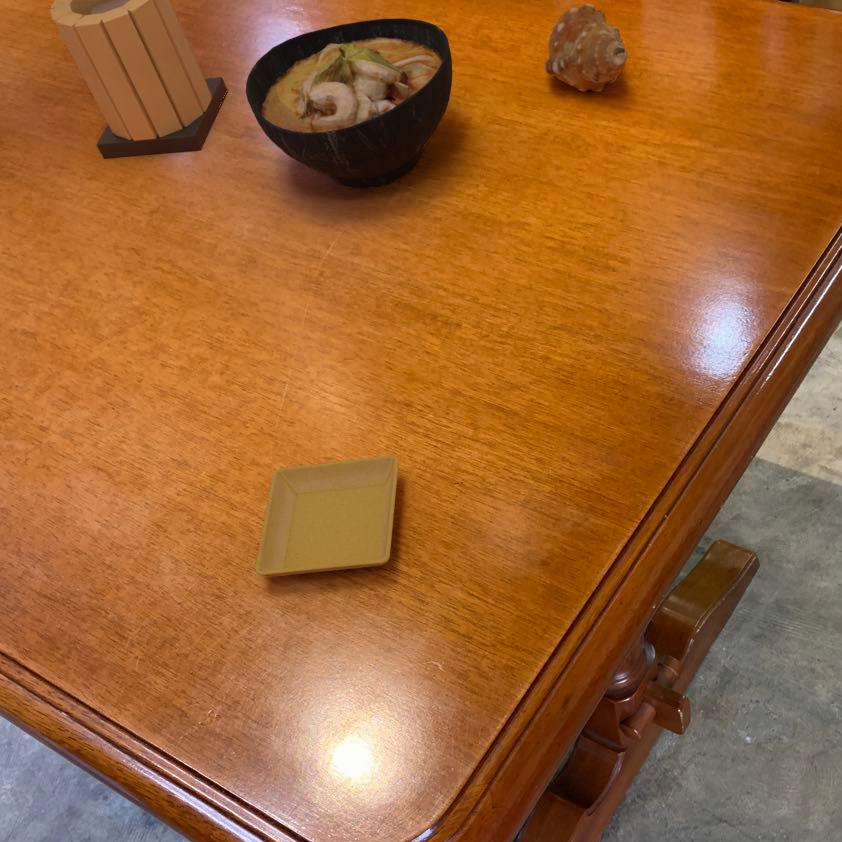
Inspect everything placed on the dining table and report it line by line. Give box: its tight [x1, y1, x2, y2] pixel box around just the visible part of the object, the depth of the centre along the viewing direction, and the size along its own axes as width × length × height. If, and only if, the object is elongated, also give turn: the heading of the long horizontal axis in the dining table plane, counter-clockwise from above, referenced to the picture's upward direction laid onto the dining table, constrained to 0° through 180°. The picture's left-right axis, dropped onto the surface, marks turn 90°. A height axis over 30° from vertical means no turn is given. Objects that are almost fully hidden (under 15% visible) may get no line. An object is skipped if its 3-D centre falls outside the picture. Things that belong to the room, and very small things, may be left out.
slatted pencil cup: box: [49, 0, 212, 141], centre depth 95 cm, size 10×10×11 cm
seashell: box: [543, 3, 628, 92], centre depth 92 cm, size 9×8×10 cm
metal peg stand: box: [91, 0, 228, 159], centre depth 96 cm, size 10×10×12 cm
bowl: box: [245, 17, 453, 190], centre depth 87 cm, size 17×17×10 cm
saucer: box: [254, 455, 400, 577], centre depth 66 cm, size 9×9×2 cm
